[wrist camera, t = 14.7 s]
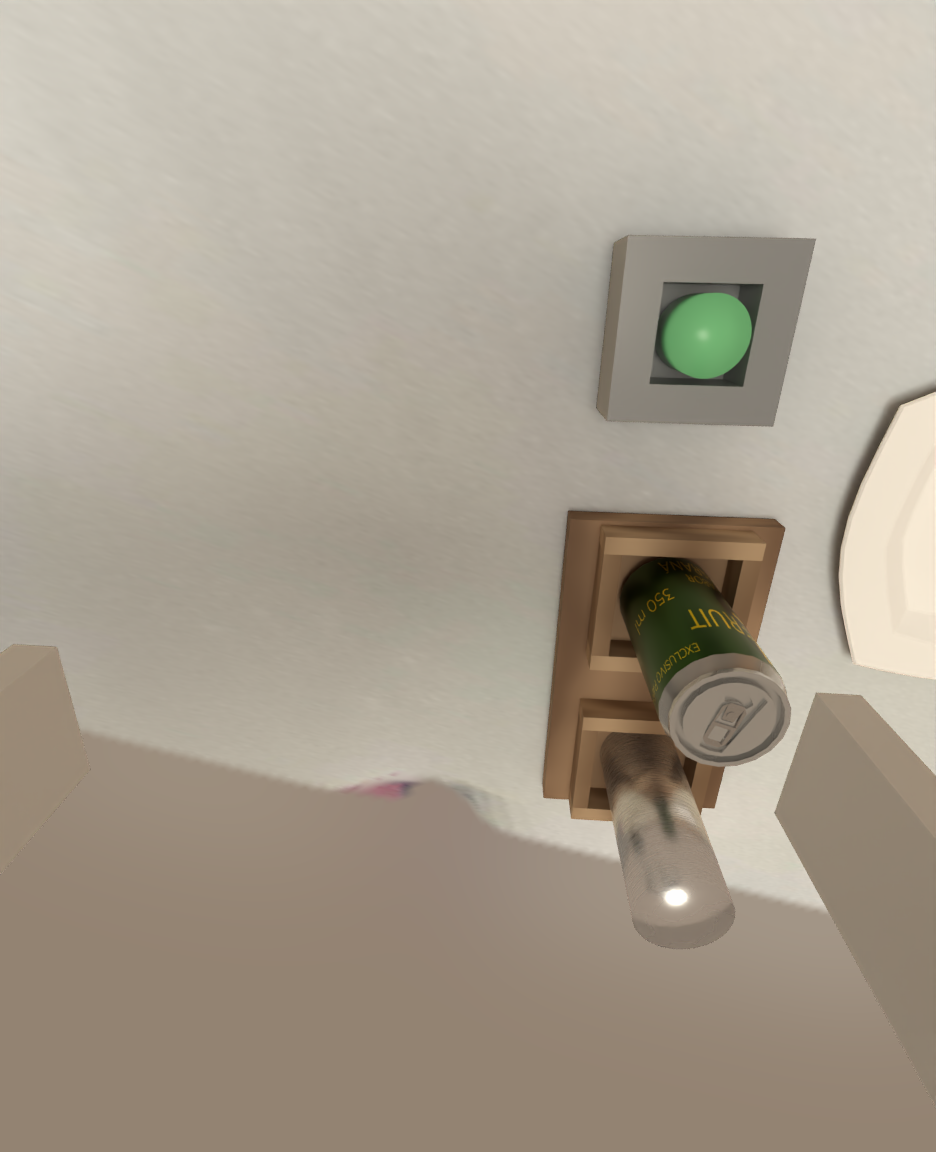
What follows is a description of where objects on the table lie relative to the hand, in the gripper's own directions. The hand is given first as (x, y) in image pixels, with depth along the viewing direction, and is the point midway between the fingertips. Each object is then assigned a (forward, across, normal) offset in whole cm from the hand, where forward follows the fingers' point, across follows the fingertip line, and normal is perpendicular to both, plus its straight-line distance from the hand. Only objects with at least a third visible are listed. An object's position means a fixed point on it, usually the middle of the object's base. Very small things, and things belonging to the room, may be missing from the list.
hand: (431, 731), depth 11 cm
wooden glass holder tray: (+26, +12, -14) cm, 32 cm away
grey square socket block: (+26, +11, +6) cm, 29 cm away
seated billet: (+24, +12, -20) cm, 34 cm away
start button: (+24, +10, +6) cm, 27 cm away
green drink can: (+24, +12, -8) cm, 28 cm away
